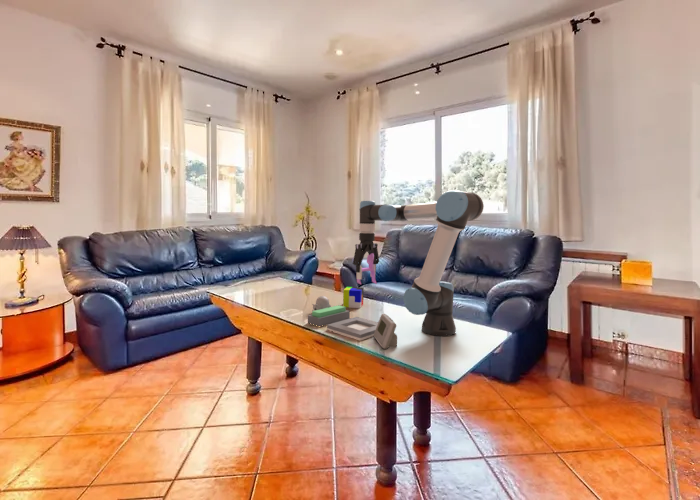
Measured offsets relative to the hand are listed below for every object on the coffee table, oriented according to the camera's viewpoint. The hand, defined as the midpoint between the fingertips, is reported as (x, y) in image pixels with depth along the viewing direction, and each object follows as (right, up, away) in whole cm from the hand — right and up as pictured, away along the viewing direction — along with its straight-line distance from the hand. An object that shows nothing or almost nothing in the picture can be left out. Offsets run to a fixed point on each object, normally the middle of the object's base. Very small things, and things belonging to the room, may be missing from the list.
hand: (366, 277), depth 184 cm
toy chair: (0, -3, 0) cm, 3 cm away
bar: (-18, -18, -1) cm, 26 cm away
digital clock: (+6, -25, -32) cm, 40 cm away
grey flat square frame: (-4, -23, -15) cm, 28 cm away
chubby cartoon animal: (-24, -20, +15) cm, 34 cm away
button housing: (-18, -21, -1) cm, 28 cm away
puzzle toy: (-6, -19, +33) cm, 38 cm away
